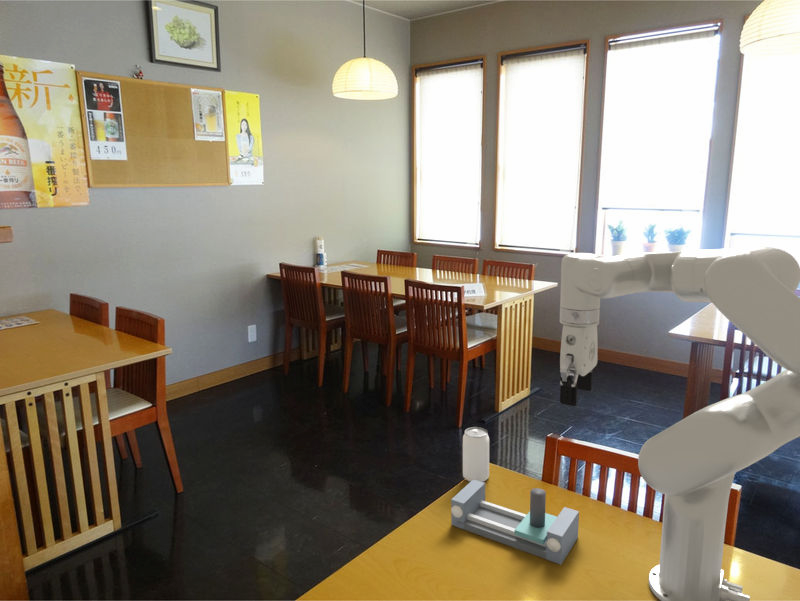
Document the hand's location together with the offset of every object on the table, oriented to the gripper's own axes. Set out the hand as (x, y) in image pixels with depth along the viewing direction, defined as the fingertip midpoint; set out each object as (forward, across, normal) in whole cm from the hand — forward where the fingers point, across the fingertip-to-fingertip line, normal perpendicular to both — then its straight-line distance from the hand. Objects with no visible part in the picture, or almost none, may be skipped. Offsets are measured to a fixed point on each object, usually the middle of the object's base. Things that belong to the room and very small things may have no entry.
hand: (576, 396), depth 116 cm
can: (+28, +6, +26) cm, 39 cm away
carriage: (+26, -10, +4) cm, 28 cm away
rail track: (+28, -10, +9) cm, 31 cm away
